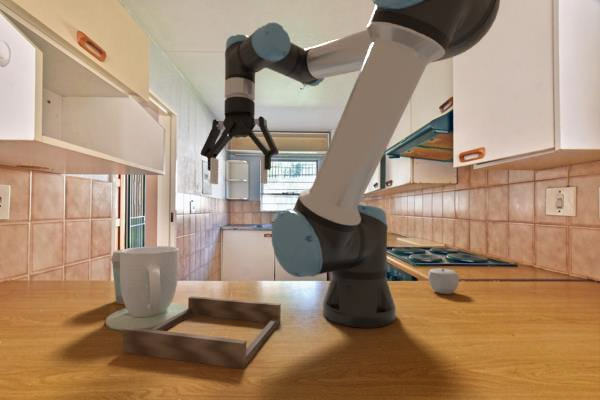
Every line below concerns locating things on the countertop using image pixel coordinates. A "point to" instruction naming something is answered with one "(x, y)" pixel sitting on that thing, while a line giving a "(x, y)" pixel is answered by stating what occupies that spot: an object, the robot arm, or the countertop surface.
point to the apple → (443, 280)
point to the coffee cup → (117, 276)
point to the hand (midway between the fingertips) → (238, 183)
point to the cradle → (199, 345)
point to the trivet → (142, 318)
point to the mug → (148, 279)
